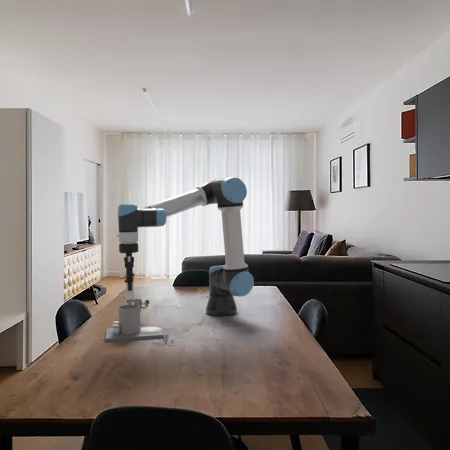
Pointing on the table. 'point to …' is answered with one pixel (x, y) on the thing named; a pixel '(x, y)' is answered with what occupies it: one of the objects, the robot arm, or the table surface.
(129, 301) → the mechanical component
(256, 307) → the table surface
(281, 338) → the table surface
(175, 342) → the table surface
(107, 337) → the board
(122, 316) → the cup
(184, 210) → the robot arm
